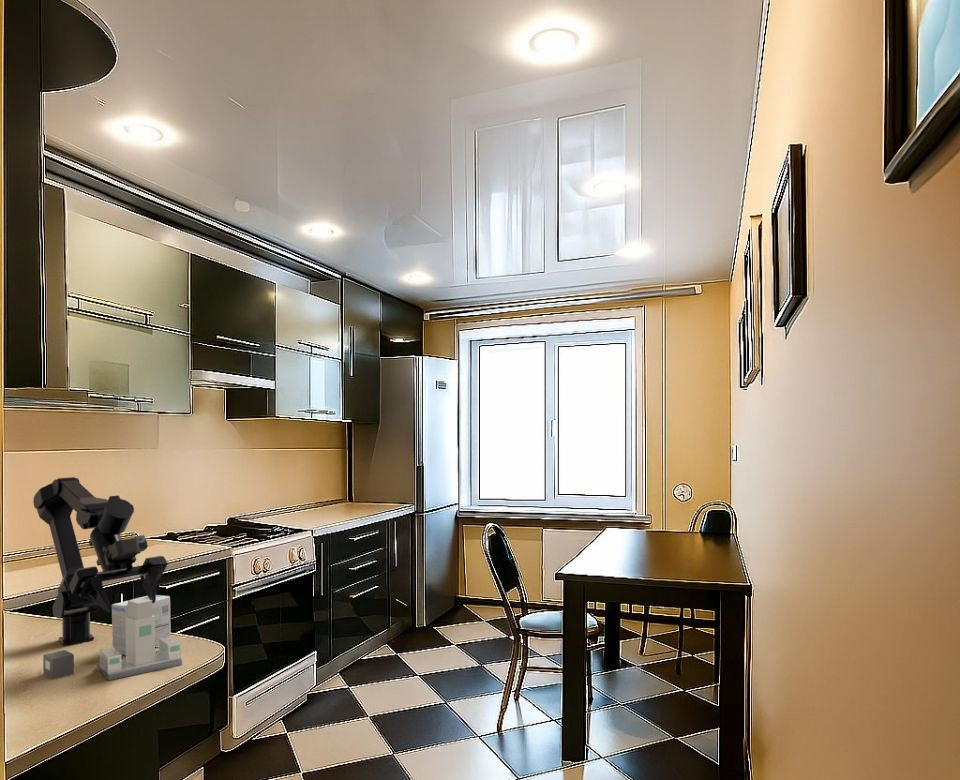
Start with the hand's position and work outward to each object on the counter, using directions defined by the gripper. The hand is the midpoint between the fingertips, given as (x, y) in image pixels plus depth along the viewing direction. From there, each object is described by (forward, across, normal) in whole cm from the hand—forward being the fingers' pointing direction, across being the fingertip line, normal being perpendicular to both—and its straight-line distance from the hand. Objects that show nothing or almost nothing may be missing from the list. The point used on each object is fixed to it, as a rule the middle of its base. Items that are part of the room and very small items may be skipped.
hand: (132, 606), depth 157 cm
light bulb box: (+2, +6, +16) cm, 17 cm away
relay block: (+4, -12, +13) cm, 18 cm away
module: (+10, 0, +5) cm, 11 cm away
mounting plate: (+10, 0, +6) cm, 12 cm away
